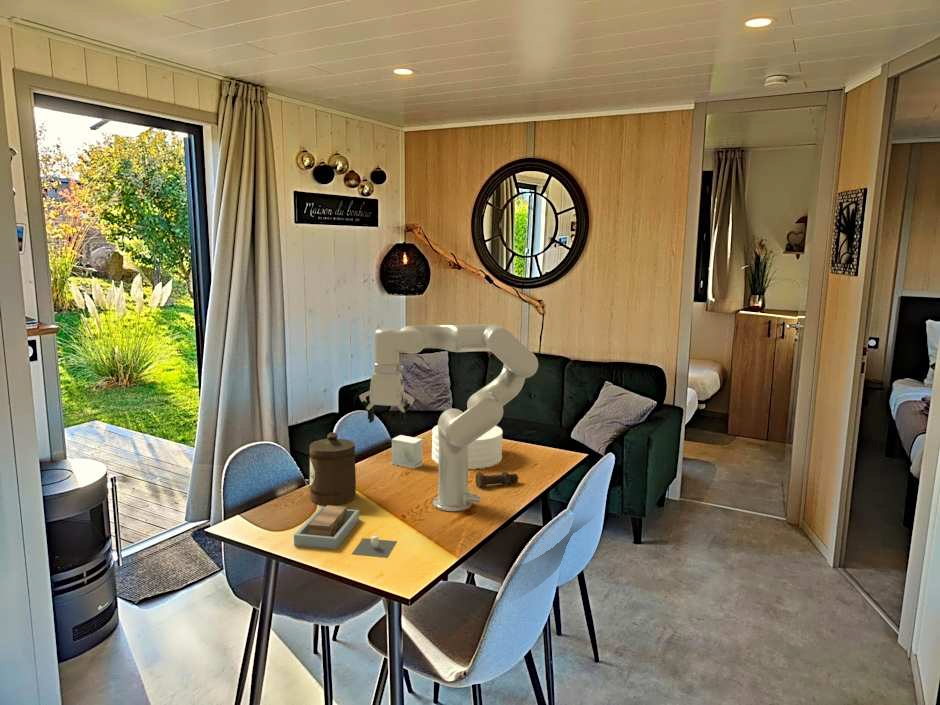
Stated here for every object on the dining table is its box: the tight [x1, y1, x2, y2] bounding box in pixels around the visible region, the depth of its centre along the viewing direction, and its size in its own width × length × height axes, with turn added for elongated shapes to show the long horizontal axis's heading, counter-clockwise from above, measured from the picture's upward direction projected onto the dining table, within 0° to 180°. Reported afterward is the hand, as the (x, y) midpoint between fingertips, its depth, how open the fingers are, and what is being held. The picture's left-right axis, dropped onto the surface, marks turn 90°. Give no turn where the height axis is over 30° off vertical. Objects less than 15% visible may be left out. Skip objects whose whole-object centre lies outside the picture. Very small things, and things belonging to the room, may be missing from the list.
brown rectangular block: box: [309, 505, 348, 537], centre depth 187 cm, size 14×6×5 cm, turn 171°
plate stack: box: [431, 424, 504, 470], centre depth 260 cm, size 28×28×12 cm
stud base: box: [351, 535, 398, 559], centre depth 179 cm, size 10×10×4 cm
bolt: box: [474, 471, 519, 490], centre depth 231 cm, size 6×5×15 cm
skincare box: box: [391, 434, 424, 470], centre depth 250 cm, size 10×6×10 cm, turn 63°
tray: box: [293, 506, 360, 550], centre depth 188 cm, size 12×20×4 cm, turn 171°
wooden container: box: [309, 431, 357, 506], centre depth 215 cm, size 15×15×22 cm
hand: (386, 422), depth 203 cm, fingers open, 9 cm apart
